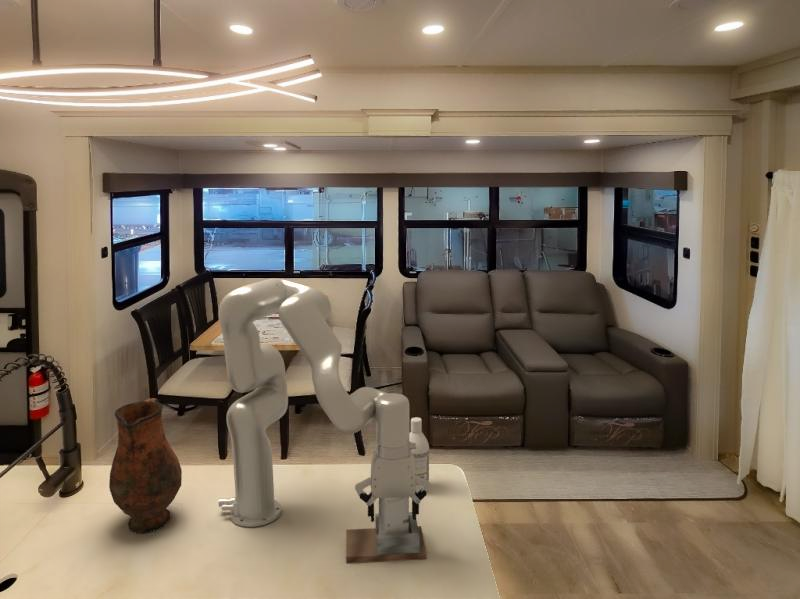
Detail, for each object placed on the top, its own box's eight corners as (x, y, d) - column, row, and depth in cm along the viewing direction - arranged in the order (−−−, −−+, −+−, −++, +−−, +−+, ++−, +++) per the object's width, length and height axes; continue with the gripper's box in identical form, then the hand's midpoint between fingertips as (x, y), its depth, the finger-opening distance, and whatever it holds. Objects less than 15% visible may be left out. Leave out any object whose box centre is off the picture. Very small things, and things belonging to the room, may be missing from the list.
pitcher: (102, 542, 151) (89, 423, 145) (133, 496, 172) (122, 390, 166) (174, 539, 152) (163, 421, 146) (196, 494, 173) (188, 389, 167)
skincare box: (385, 548, 146) (384, 500, 143) (378, 538, 150) (377, 490, 147) (410, 542, 148) (409, 494, 146) (402, 532, 152) (401, 485, 150)
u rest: (346, 563, 143) (345, 540, 142) (346, 535, 154) (345, 514, 153) (426, 558, 144) (426, 536, 143) (421, 531, 155) (421, 510, 154)
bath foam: (434, 488, 176) (434, 419, 171) (414, 496, 171) (414, 426, 167) (417, 479, 181) (417, 412, 177) (398, 486, 177) (398, 418, 172)
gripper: (429, 440, 148) (428, 507, 152) (354, 443, 147) (355, 510, 151) (433, 454, 141) (432, 525, 145) (354, 457, 140) (355, 528, 143)
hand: (393, 517), depth 148 cm, fingers open, 9 cm apart
